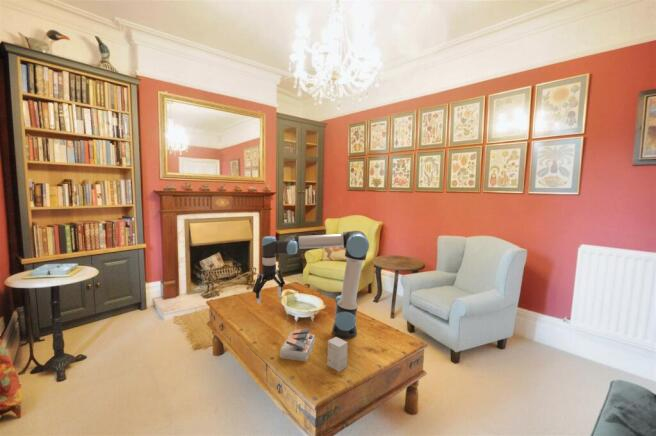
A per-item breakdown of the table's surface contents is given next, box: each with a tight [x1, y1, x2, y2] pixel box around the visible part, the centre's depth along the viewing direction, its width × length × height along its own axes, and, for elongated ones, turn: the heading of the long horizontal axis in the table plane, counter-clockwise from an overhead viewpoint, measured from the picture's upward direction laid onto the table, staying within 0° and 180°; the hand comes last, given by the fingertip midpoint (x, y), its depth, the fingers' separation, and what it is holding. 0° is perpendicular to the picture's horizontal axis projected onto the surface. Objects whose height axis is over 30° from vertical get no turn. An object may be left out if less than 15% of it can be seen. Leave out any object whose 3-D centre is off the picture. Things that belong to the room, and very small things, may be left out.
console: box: [279, 331, 316, 362], centre depth 159 cm, size 14×18×5 cm
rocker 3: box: [286, 337, 305, 349], centre depth 153 cm, size 9×4×2 cm, turn 79°
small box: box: [326, 336, 349, 373], centre depth 146 cm, size 8×6×13 cm
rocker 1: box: [292, 327, 311, 335], centre depth 165 cm, size 9×4×2 cm, turn 78°
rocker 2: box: [290, 333, 307, 341], centre depth 159 cm, size 9×4×2 cm, turn 78°
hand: (269, 300), depth 166 cm, fingers open, 13 cm apart
